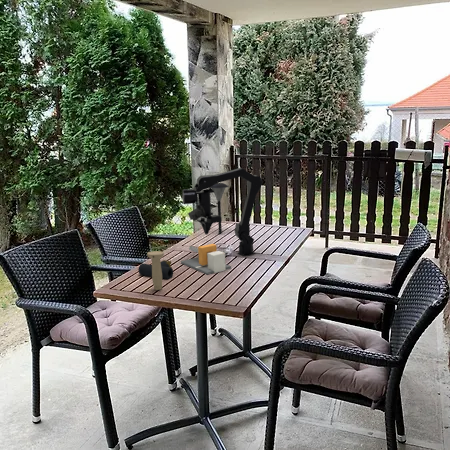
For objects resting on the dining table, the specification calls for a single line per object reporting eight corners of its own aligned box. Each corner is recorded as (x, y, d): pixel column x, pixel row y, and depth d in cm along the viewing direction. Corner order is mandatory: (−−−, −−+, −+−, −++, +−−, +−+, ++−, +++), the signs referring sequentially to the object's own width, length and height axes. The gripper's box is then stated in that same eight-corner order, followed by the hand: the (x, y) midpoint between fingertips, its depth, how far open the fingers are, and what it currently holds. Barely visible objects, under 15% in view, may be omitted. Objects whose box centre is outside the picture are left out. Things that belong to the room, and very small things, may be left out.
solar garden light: (206, 233, 267) (204, 183, 261) (225, 230, 272) (223, 181, 266) (214, 237, 257) (212, 185, 250) (234, 234, 261) (232, 183, 255)
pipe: (193, 249, 214) (192, 245, 214) (218, 259, 198) (218, 254, 197) (189, 250, 213) (188, 246, 213) (214, 260, 197) (214, 255, 196)
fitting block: (219, 267, 202) (218, 250, 200) (225, 270, 198) (224, 252, 196) (208, 270, 199) (207, 253, 197) (214, 273, 195) (213, 255, 193)
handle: (152, 286, 181) (149, 251, 178) (167, 287, 180) (165, 251, 177) (148, 290, 177) (145, 254, 173) (163, 291, 175) (161, 254, 172)
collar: (213, 260, 207) (212, 243, 205) (217, 261, 204) (216, 244, 203) (198, 263, 202) (198, 246, 200) (202, 265, 200) (201, 248, 198)
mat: (203, 257, 218) (203, 255, 218) (231, 268, 200) (231, 265, 200) (181, 263, 210) (180, 261, 210) (207, 274, 193) (207, 272, 193)
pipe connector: (153, 257, 204) (181, 261, 197) (154, 268, 205) (182, 272, 198) (137, 265, 194) (166, 269, 187) (139, 276, 195) (167, 281, 188)
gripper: (179, 202, 214) (182, 234, 218) (201, 207, 199) (203, 240, 203) (199, 199, 221) (200, 230, 224) (221, 203, 206) (223, 236, 209)
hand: (206, 234), depth 215 cm, fingers closed
